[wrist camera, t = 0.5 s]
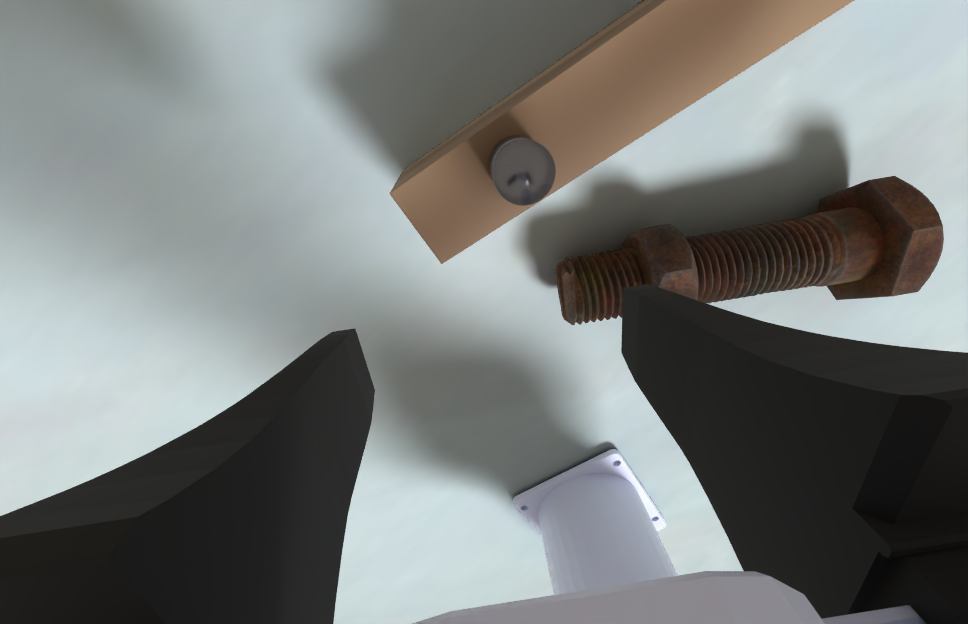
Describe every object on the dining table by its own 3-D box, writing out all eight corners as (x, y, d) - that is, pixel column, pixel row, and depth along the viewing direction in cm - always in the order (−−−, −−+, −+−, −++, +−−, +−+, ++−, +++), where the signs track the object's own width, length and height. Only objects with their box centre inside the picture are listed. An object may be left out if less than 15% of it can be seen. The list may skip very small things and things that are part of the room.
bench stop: (877, -61, 16) (1150, -161, 10) (442, 225, 19) (440, 285, 13) (866, -157, 14) (1175, -344, 8) (403, 169, 18) (381, 207, 12)
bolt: (545, 251, 23) (824, 203, 22) (560, 343, 22) (843, 296, 22) (560, 227, 17) (940, 160, 16) (581, 350, 17) (966, 287, 16)
